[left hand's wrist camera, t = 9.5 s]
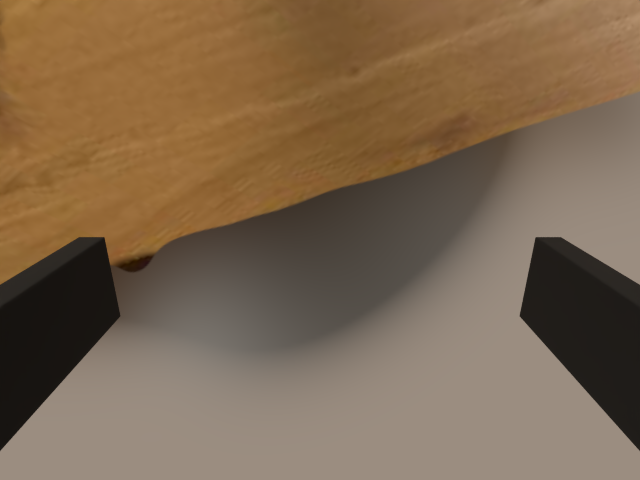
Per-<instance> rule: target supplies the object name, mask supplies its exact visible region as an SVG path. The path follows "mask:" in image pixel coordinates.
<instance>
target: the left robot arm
mask: <svg viewBox="0 0 640 480" xmlns="http://www.w3.org/2000/svg"><path fill="white" fill-rule="evenodd" d="M119 317H120V312H119V307H118V302H117V297H116V292H115V287H114V282H113V278H112V273H111V268H110V263H109V258H108V253H107V248H106V243H105V238H104V237H79V238H77V239H76V240H74V241H72V242H71V243H69V244H67V245H66V246H64V247H62V248H61V249H59V250H57V251H56V252H54V253H52V254H51V255H49V256H47V257H46V258H44V259H42V260H41V261H39V262H37V263H36V264H34V265H32V266H31V267H29V268H27V269H26V270H24V271H22V272H21V273H19V274H17V275H16V276H14V277H12V278H11V279H9V280H8V281H6V282H4V283H3V284H1V285H0V450H1V449H2V448H3V447H4V446H5V445H6V444H7V443H8V441H9V440H10V439H11V438H12V437H13V436H14V435H15V434H16V433H17V431H18V430H19V429H20V428H21V427H22V426H23V425H24V424H25V422H26V421H27V420H28V419H29V418H30V417H31V416H32V415H33V413H34V412H35V411H36V410H37V409H38V408H39V407H40V406H41V404H42V403H43V402H44V401H45V400H46V399H47V398H48V397H49V396H50V394H51V393H52V392H53V391H54V390H55V389H56V388H57V387H58V385H59V384H60V383H61V382H62V381H63V380H64V379H65V378H66V376H67V375H68V374H69V373H70V372H71V371H72V370H73V369H74V367H75V366H76V365H77V364H78V363H79V362H80V361H81V360H82V359H83V357H84V356H85V355H86V354H87V353H88V352H89V351H90V349H91V348H92V347H93V346H94V345H95V344H96V343H97V342H98V340H99V339H100V338H101V337H102V336H103V335H104V334H105V333H106V332H107V331H108V329H109V328H110V327H111V326H112V325H113V324H114V323H115V322H116V320H117V319H118V318H119ZM520 317H521V318H522V319H523V320H524V321H525V323H526V324H527V325H528V326H529V327H530V328H531V329H532V330H533V332H534V333H535V334H536V335H537V336H538V337H539V338H540V339H541V341H542V342H543V343H544V344H545V345H546V346H547V347H548V348H549V349H550V351H551V352H552V353H553V354H554V355H555V356H556V357H557V359H558V360H559V361H560V362H561V363H562V364H563V365H564V366H565V368H566V369H567V370H568V371H569V372H570V373H571V374H572V375H573V376H574V378H575V379H576V380H577V381H578V382H579V383H580V384H581V385H582V387H583V388H584V389H585V390H586V391H587V392H588V393H589V394H590V396H591V397H592V398H593V399H594V400H595V401H596V402H597V403H598V405H599V406H600V407H601V408H602V409H603V410H604V411H605V412H606V413H607V415H608V416H609V417H610V418H611V419H612V420H613V421H614V422H615V424H616V425H617V426H618V427H619V428H620V429H621V430H622V431H623V433H624V434H625V435H626V436H627V437H628V438H629V439H630V440H631V442H632V443H633V444H634V445H635V446H636V447H637V448H638V449H639V450H640V285H639V284H637V283H636V282H634V281H632V280H631V279H629V278H628V277H626V276H624V275H622V274H621V273H619V272H618V271H616V270H614V269H613V268H611V267H609V266H608V265H606V264H604V263H603V262H601V261H599V260H598V259H596V258H594V257H593V256H591V255H589V254H588V253H586V252H584V251H583V250H581V249H579V248H578V247H576V246H574V245H573V244H571V243H569V242H568V241H566V240H564V239H563V238H561V237H536V238H535V243H534V248H533V253H532V258H531V263H530V268H529V273H528V278H527V282H526V288H525V292H524V297H523V302H522V307H521V312H520Z"/></svg>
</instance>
